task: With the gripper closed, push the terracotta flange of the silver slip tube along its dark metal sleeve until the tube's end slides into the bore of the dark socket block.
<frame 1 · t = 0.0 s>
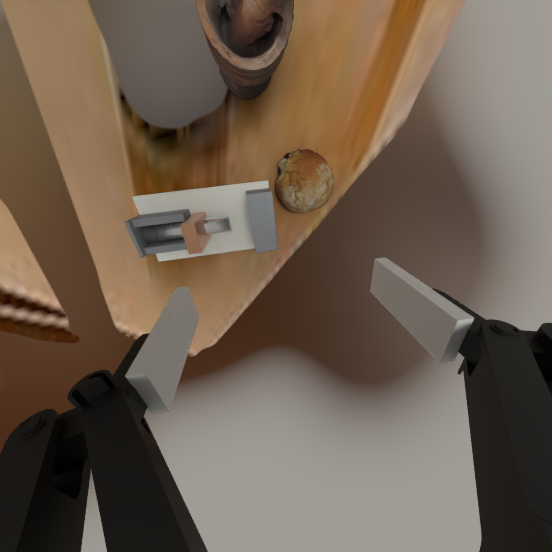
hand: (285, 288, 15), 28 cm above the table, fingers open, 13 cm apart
bread roll: (300, 181, 38), on the table
mortar and pestle: (253, 56, 29), on the table
guide base: (211, 222, 39), on the table
slip tube: (185, 232, 34), point 5 cm above the table, slide at 0.0 cm
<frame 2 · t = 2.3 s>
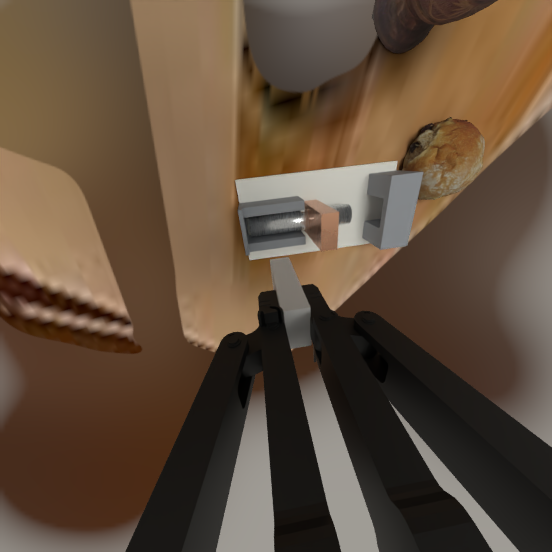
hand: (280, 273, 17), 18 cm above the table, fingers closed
bread roll: (428, 162, 31), on the table
guide base: (316, 212, 33), on the table
slip tube: (303, 224, 28), point 6 cm above the table, slide at 0.0 cm
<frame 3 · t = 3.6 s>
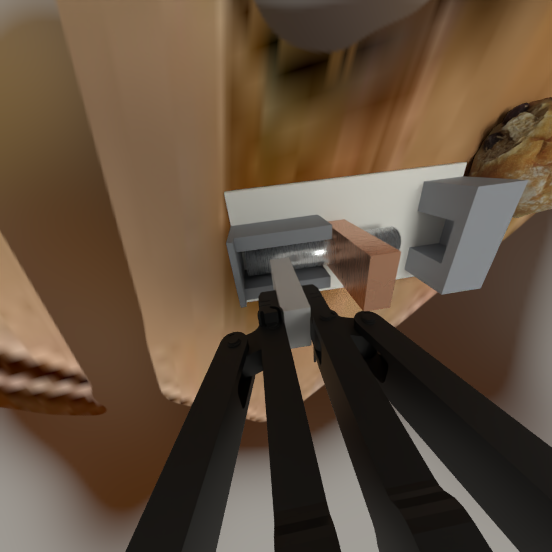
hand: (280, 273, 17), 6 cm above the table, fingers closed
bread roll: (505, 163, 21), on the table
guide base: (341, 236, 23), on the table
slip tube: (329, 261, 18), point 6 cm above the table, slide at 0.0 cm
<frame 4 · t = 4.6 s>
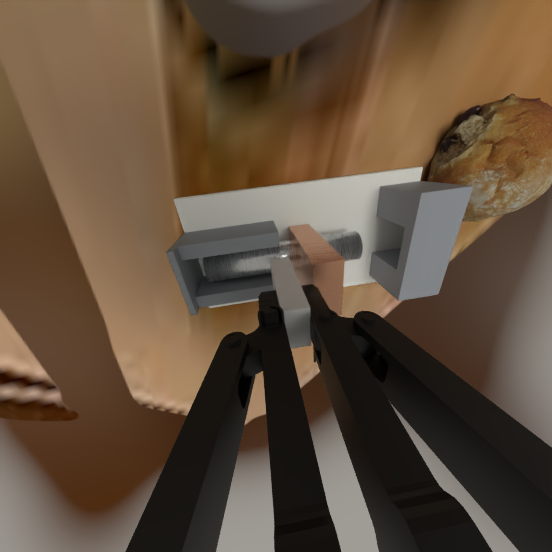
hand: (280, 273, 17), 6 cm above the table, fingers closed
bread roll: (465, 165, 21), on the table
guide base: (302, 241, 23), on the table
slip tube: (287, 267, 18), point 5 cm above the table, slide at 0.8 cm, touching gripper
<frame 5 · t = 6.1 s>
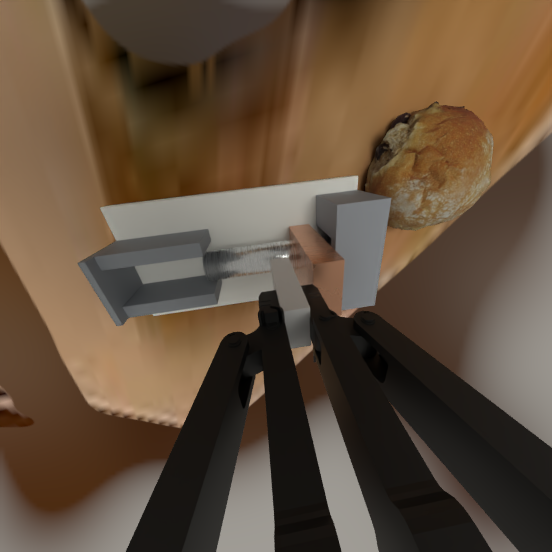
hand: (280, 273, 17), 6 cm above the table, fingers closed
bread roll: (406, 173, 21), on the table
guide base: (245, 249, 22), on the table
slip tube: (287, 267, 18), point 5 cm above the table, slide at 7.0 cm, touching gripper
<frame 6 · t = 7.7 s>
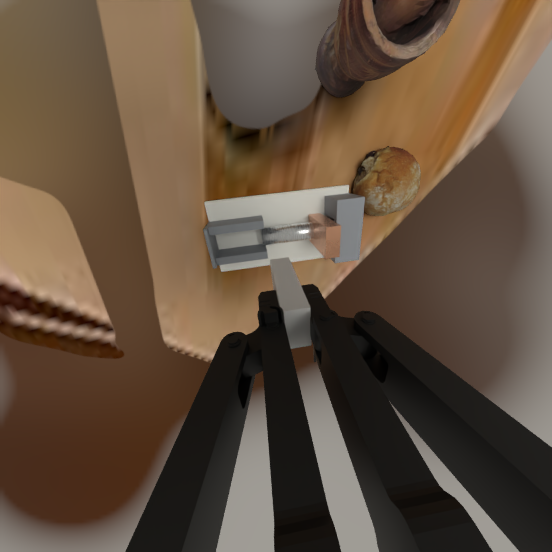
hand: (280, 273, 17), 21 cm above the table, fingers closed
bread roll: (377, 182, 35), on the table
mortar and pestle: (353, 50, 27), on the table
guide base: (280, 229, 36), on the table
slip tube: (309, 235, 32), point 5 cm above the table, slide at 7.0 cm
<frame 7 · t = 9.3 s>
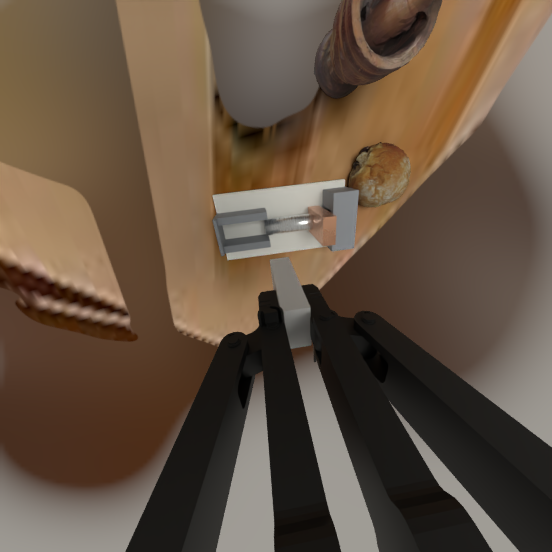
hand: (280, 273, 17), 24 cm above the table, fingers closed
bread roll: (371, 176, 38), on the table
mortar and pestle: (348, 55, 29), on the table
guide base: (282, 220, 39), on the table
slip tube: (308, 225, 35), point 6 cm above the table, slide at 7.0 cm
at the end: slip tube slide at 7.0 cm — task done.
